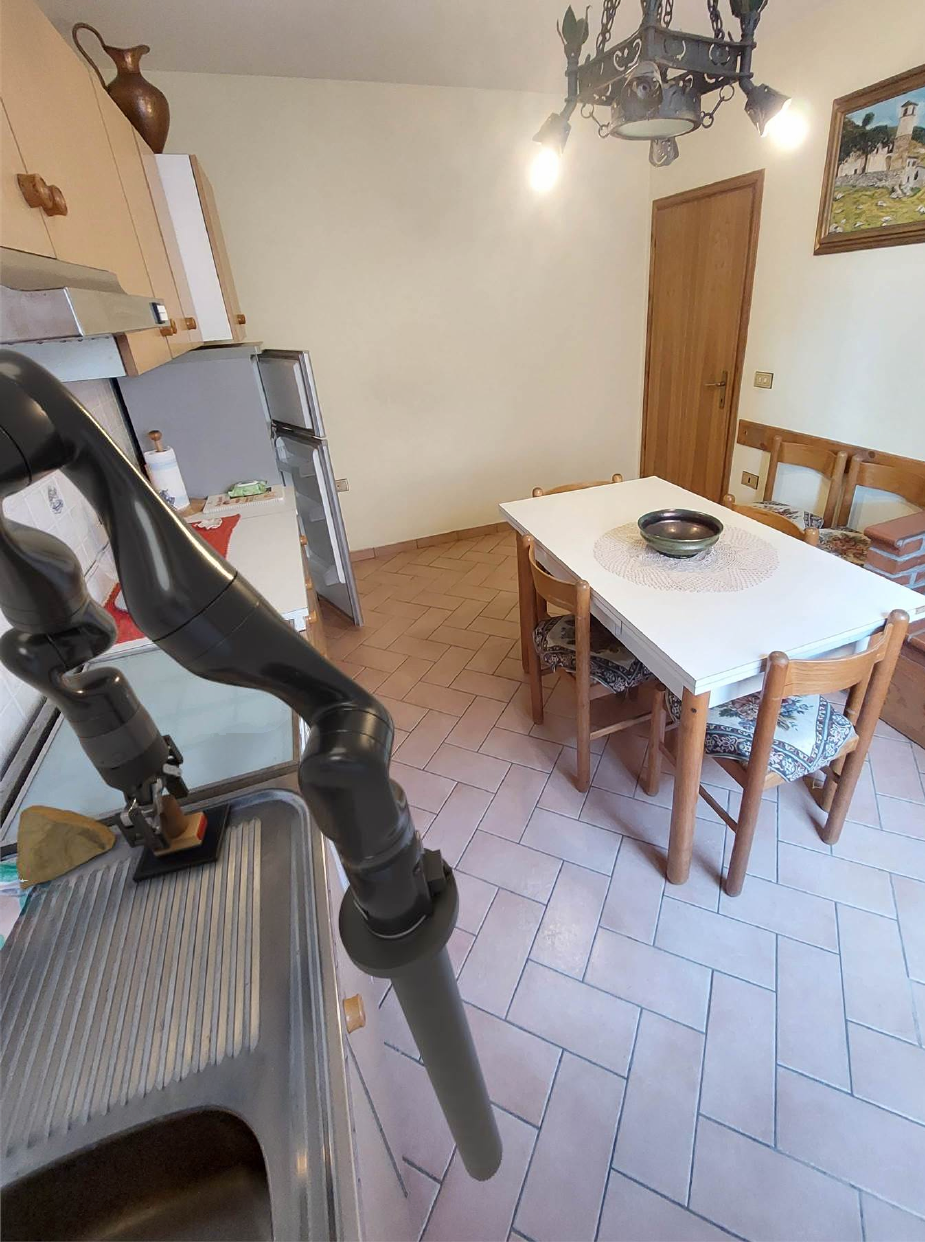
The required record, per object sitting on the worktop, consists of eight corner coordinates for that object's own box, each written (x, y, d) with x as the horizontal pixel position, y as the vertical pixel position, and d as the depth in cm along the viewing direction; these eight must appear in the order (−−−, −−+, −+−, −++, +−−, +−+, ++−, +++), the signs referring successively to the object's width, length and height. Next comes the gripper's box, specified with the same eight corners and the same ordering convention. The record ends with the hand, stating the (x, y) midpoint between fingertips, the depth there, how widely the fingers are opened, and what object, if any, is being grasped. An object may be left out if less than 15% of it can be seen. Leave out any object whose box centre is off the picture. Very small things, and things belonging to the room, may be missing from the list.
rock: (130, 810, 84) (68, 803, 84) (89, 812, 76) (21, 804, 77) (102, 892, 80) (37, 884, 80) (56, 903, 72) (-16, 894, 72)
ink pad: (231, 807, 86) (229, 803, 85) (218, 861, 78) (215, 857, 77) (156, 826, 84) (153, 822, 83) (134, 883, 76) (131, 879, 76)
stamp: (156, 858, 78) (132, 822, 74) (165, 833, 82) (143, 797, 78) (203, 845, 79) (182, 810, 75) (209, 821, 83) (190, 786, 79)
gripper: (114, 710, 76) (161, 787, 84) (65, 795, 64) (125, 876, 72) (171, 697, 77) (212, 775, 85) (135, 778, 65) (186, 860, 73)
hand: (173, 821), depth 78 cm, fingers open, 8 cm apart
